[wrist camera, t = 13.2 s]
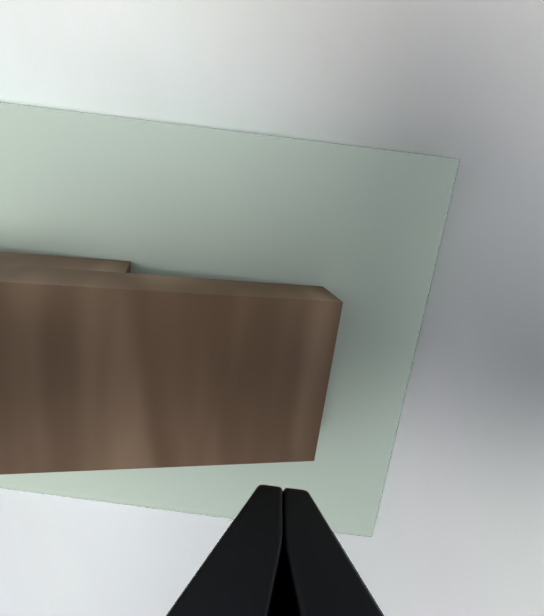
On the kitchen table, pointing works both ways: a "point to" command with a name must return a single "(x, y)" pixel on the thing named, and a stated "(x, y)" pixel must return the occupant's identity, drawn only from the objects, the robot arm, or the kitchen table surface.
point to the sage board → (242, 272)
